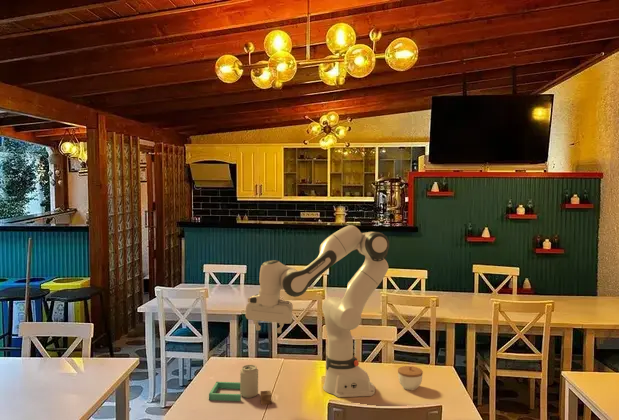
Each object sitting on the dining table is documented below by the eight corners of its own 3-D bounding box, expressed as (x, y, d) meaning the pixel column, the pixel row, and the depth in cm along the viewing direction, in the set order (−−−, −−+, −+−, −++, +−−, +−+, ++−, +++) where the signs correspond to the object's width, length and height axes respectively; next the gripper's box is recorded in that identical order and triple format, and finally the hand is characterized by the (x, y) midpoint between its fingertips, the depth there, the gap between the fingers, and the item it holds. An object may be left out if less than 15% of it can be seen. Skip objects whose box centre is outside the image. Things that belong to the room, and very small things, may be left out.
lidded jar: (406, 380, 229) (407, 360, 229) (427, 387, 221) (427, 366, 221) (392, 387, 221) (393, 366, 221) (413, 394, 214) (413, 373, 213)
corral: (246, 388, 218) (246, 382, 218) (240, 401, 205) (240, 395, 205) (216, 387, 219) (216, 381, 219) (208, 400, 206) (208, 394, 206)
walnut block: (270, 400, 207) (270, 390, 207) (271, 404, 203) (271, 394, 203) (260, 400, 206) (260, 391, 206) (261, 405, 202) (261, 395, 202)
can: (249, 389, 217) (249, 362, 216) (261, 394, 212) (262, 366, 211) (236, 395, 211) (236, 367, 210) (248, 400, 206) (249, 371, 205)
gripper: (295, 299, 211) (294, 332, 212) (250, 295, 217) (249, 326, 218) (290, 302, 205) (289, 336, 206) (244, 298, 211) (243, 330, 212)
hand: (268, 331), depth 212 cm, fingers open, 8 cm apart
